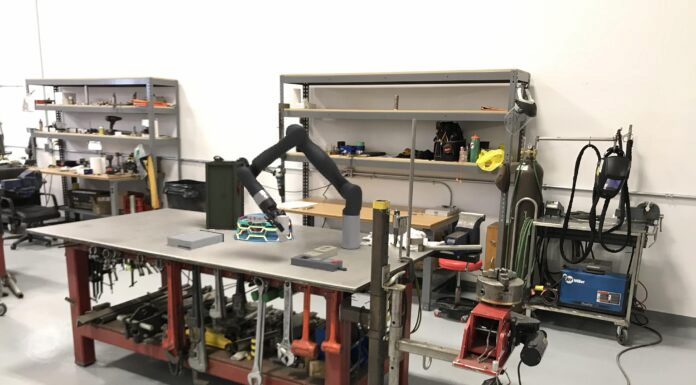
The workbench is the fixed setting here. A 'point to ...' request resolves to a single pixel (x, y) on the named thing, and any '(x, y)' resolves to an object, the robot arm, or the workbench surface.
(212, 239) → the disc drive
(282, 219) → the block
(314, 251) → the electrical outlet
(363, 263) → the workbench surface
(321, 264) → the power strip
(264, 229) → the stadium
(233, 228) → the green ammo box
